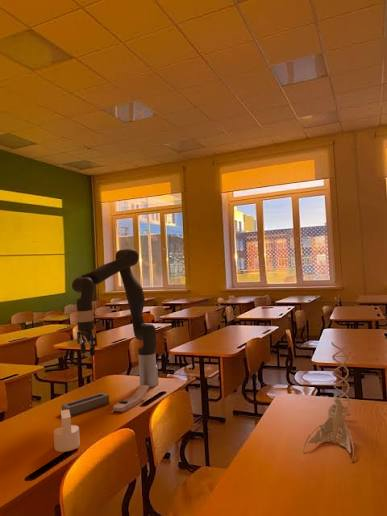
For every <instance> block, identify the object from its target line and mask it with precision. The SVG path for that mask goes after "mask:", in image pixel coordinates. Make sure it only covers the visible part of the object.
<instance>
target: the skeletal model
mask: <svg viewBox="0 0 387 516" xmlns="http://www.w3.org/2000/svg"><path fill="white" fill-rule="evenodd" d="M335 399H336V400H337V401H336V403H334V404H332V405H330V406H329V407H328V409H327V411H328V413H327V414H328V417H327V419H326V420H325V422H324V423H321V424H320V425H318V426H317V427H315V428H314V430H312V431H311V433H310V434H308V436H307V438H306V440H305V443H304V445H303V448H302V453H303V454H304V453H305V447H306V445H308V444H315V445H317V444H318V443H331V442H336V444H337V443H338V444H337V445H339V446H341V447H344V448H345V449H346V450H347V451H348V453H349V454H351V452H352V457H351V459H350V460H351V461H350V463H352V462H353V461H354V457H355V456H354V455H355V446H354V443H353V438H352V434H351V432H350V430H349V428H348V427H347V425H346V423H345V420H346V419H345V418H346V416H347V414H348V412H347V409H348V408H347V409H346V407H347V406H345V405H343V401H342V400H341V398H340V399H337V398H335ZM344 409H345V410H344ZM319 428H320V429H319ZM317 429H318V430H317ZM314 433H315V434H314ZM312 434H314V435H313V436H312V437H311V435H312ZM350 441H351V442H350ZM351 447H352V450H351Z"/></svg>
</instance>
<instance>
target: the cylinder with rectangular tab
mask: <svg viewBox="0 0 387 516" xmlns="http://www.w3.org/2000/svg"><path fill="white" fill-rule="evenodd" d="M60 416H61V417H60V419H61V426H60V427H57V428H55V429H54V431H53V439H54V440H53V441H54V442H53V444H54V445H53V446H54V450H55V451H56V452H61V453H64V452H70V451H74V450H75V449H77V448H78V447H80V445H81V444H80V443H81V442H80V441H81V439H80V427H79V426H78V425H75V424H72V418H71V417H72V416H70V412H69V409H68V410H62V409H61V410H60Z"/></svg>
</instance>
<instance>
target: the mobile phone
mask: <svg viewBox="0 0 387 516" xmlns="http://www.w3.org/2000/svg"><path fill="white" fill-rule="evenodd" d="M149 388H150V387H149V386H147V385H140V384H139V385H138V387H137V389H136V390H135V392H134V393H133V395H132V396H130V397H128V398H126V399H124V400H120V401H119V402H116V404H114V405H113V406H112V410H111V411H110V414H112V413H115V412H121V413H122V412H127V411H128V410H130V409H131V408H133V407H135V406H137V405H138V404H140V403H142V398H143V397H144V396H145V394H146V393H147V391H148V389H149ZM136 404H137V405H136Z"/></svg>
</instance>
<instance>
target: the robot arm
mask: <svg viewBox="0 0 387 516" xmlns="http://www.w3.org/2000/svg"><path fill="white" fill-rule="evenodd" d="M114 258H115V260H112V261H110V262H107V263H105V264H102V265H101V266H98V267H97V268H95V269H93V270H91V271H90V272H88V273H84V274H82V275H80V276H78V277H76V278H75V279H73V281H72V284H71V287H72V290H73V291H74V292H76V293H81V294H80V297H79V298H77V299H76V321H77V332H76V336H77V342H76V343H77V345H78V344H79V346H80V354H85V353H87V351H86V348H87V347H86V344H87V345H88V347H89V356H91V357H93V356H95V355H96V352H95V351H96V348H95V347H97V346H98V339H97V332H95V333H94V332H93V330H94V329H95V318H94V317H95V316H94V311H93V297H94V291H95V285H99V284H101V283H102V282H104V281H105V280H108V279H109V278H110V277H112V276H113V275H116V274H117V273H119V274H120V277H121V280H122V284H123V288H124V291H125V292H124V293H125V296H126V300H127V303H128V308H129V311H130V316H131V321H132V322H131V323H132V329H133V334H134V337H135V339H136V340H138V341H140V342H141V341H142V342H143V343H142V346H141V347H139V348H138V350H137V353H138V355H137V356H138V370H139V371H138V372H139V373H138V375H139V386H140V385H147V386H149V388H152V387H156V386H157V385H159V370H158V369H159V368H158V365H157V362H156V361H157V359H156V356H157V355H156V349H157V330H156V327H155V325H154V324H150V323H146V322H145V319H144V315H143V310H144V308H145V304H146V303H145V302H146V299H145V294H144V290H143V288H142V285H141V283H140V282H139V281H138V280H137V278H136V277H135V276H134V274H133V272H132V269H131V267H133V266H136V265H137V264H138V262H139V258H140V257H139V253H138V251H137V250H135V249H133V248H126V249H119V250H117V251H116V253H115V257H114Z"/></svg>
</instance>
